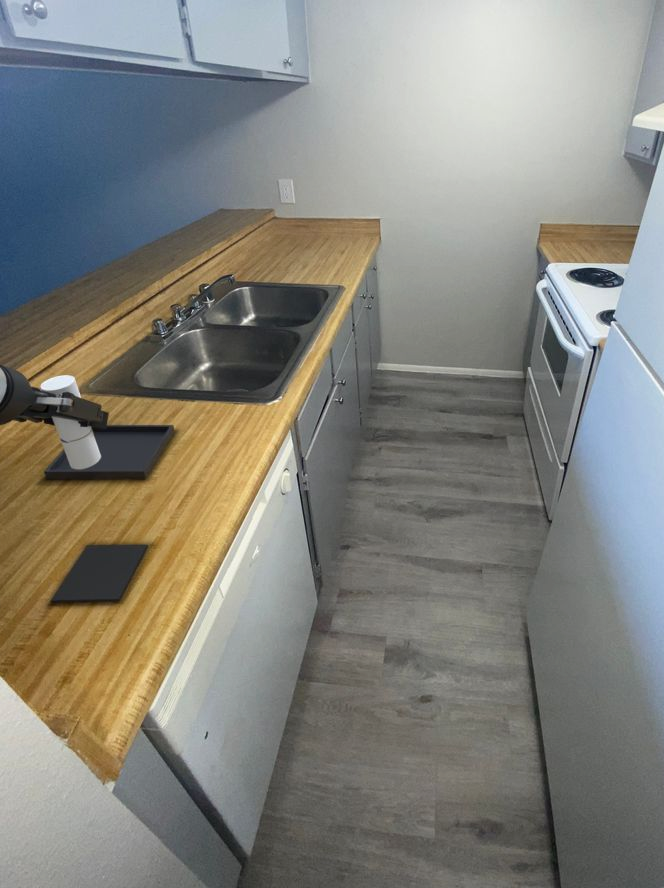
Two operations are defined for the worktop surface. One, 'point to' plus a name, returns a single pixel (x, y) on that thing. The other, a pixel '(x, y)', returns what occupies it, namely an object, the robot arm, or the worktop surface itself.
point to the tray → (118, 453)
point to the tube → (73, 427)
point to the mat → (100, 574)
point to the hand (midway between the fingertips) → (89, 420)
